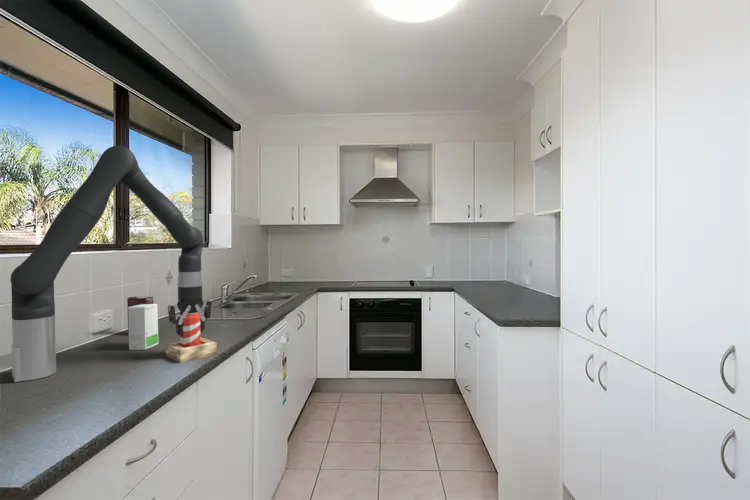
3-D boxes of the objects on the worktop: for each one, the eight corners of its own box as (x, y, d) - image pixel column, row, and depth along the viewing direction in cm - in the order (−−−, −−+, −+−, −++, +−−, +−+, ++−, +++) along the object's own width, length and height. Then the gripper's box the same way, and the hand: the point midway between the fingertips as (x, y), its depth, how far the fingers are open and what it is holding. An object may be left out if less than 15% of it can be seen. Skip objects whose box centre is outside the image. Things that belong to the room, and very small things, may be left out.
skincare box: (145, 350, 133) (144, 307, 133) (127, 350, 133) (126, 307, 133) (159, 343, 141) (158, 303, 141) (142, 343, 142) (141, 303, 141)
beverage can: (176, 348, 125) (175, 313, 124) (189, 343, 131) (189, 310, 131) (191, 350, 123) (191, 314, 123) (204, 345, 129) (204, 310, 129)
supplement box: (154, 333, 158) (154, 296, 158) (146, 336, 153) (145, 297, 153) (135, 332, 159) (135, 296, 159) (127, 335, 154) (126, 297, 154)
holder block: (180, 362, 119) (180, 350, 119) (165, 355, 126) (165, 344, 126) (216, 354, 128) (216, 342, 128) (201, 347, 136) (200, 337, 136)
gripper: (172, 287, 119) (172, 339, 119) (215, 283, 130) (216, 331, 130) (163, 285, 124) (163, 335, 124) (206, 282, 134) (206, 328, 135)
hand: (190, 333), depth 127 cm, fingers closed on beverage can, 6 cm apart
